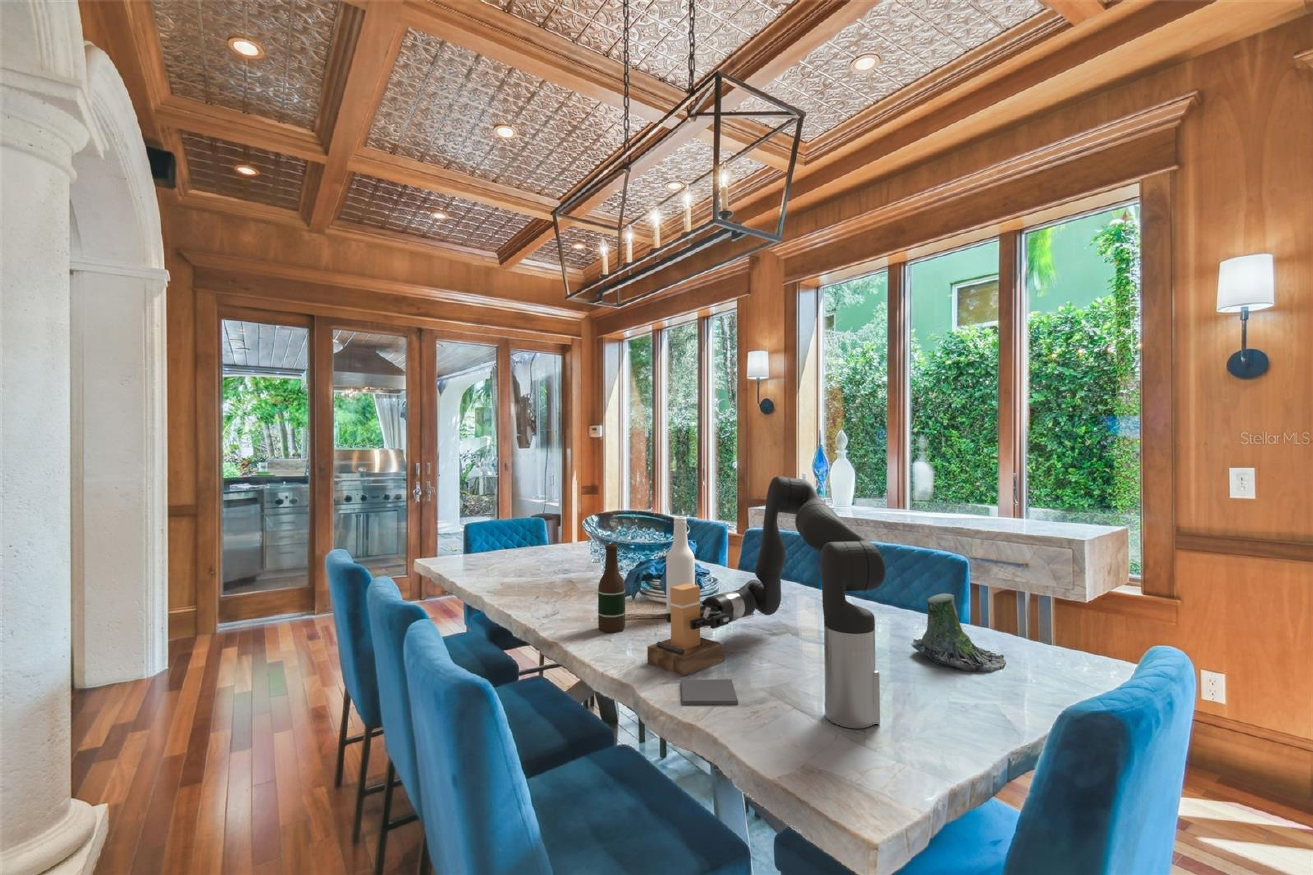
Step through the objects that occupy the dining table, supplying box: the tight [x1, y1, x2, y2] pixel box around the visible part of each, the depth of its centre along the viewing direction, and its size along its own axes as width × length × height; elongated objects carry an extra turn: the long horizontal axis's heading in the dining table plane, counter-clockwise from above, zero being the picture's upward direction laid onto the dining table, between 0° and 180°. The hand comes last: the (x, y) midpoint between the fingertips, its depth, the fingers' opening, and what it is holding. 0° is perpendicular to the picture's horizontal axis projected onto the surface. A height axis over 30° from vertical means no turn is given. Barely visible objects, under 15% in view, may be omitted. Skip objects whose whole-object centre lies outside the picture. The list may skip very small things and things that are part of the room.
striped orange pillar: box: [670, 583, 701, 650], centre depth 143 cm, size 4×6×18 cm
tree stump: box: [910, 593, 1007, 673], centre depth 144 cm, size 18×20×18 cm
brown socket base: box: [646, 636, 725, 677], centre depth 143 cm, size 12×14×5 cm
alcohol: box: [665, 516, 696, 615], centre depth 184 cm, size 9×9×30 cm
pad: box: [680, 678, 739, 706], centre depth 125 cm, size 11×11×1 cm
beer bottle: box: [597, 543, 626, 634], centre depth 170 cm, size 8×8×24 cm
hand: (679, 621), depth 142 cm, fingers open, 7 cm apart
